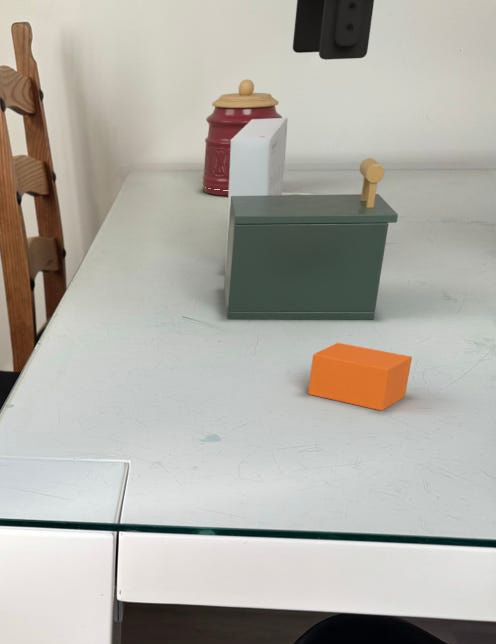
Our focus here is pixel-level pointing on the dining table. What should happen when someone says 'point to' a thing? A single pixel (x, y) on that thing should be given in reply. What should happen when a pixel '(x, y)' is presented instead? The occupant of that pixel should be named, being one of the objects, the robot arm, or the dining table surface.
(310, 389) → the orange block
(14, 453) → the dining table surface
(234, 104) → the kitchen canister
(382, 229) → the bin
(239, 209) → the bin lid
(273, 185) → the skincare box
